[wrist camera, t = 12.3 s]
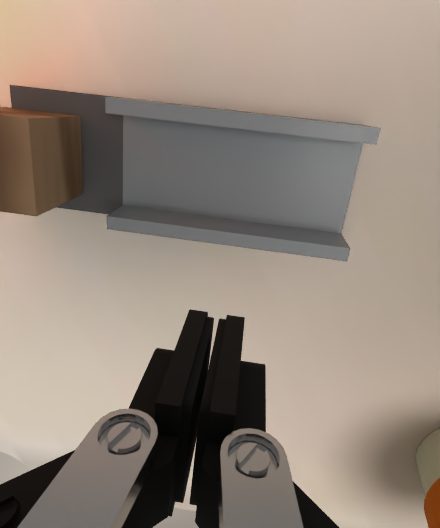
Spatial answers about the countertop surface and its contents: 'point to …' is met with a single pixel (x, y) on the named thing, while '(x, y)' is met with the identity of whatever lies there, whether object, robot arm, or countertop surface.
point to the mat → (86, 143)
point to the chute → (237, 177)
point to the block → (39, 160)
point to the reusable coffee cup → (430, 476)
